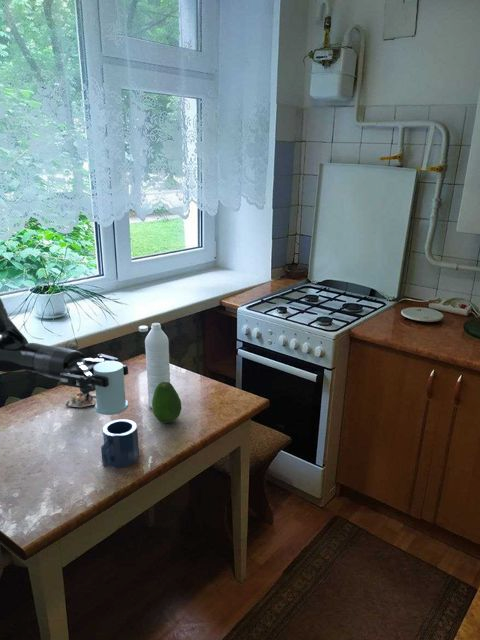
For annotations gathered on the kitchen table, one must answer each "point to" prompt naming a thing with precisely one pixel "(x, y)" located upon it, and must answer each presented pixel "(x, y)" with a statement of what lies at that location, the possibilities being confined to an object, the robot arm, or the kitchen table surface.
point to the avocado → (166, 403)
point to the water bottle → (156, 358)
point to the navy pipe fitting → (120, 443)
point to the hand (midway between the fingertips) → (117, 376)
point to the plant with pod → (81, 389)
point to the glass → (110, 388)
